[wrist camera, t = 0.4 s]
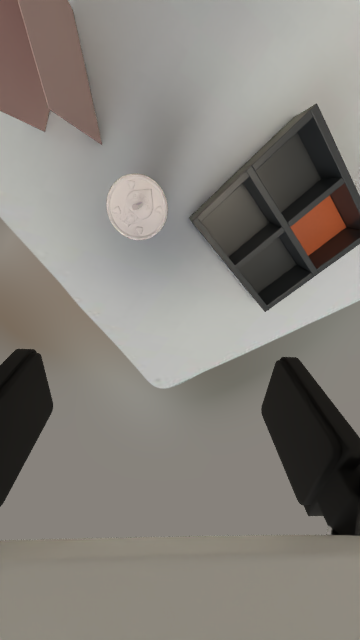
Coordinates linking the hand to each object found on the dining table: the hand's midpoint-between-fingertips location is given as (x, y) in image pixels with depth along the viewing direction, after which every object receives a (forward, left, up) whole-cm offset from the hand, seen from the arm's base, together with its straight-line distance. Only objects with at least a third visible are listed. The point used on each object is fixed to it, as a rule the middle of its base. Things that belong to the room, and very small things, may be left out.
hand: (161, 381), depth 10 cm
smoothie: (-1, -6, -30) cm, 31 cm away
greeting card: (-4, -19, -30) cm, 36 cm away
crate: (-13, +8, -30) cm, 34 cm away
